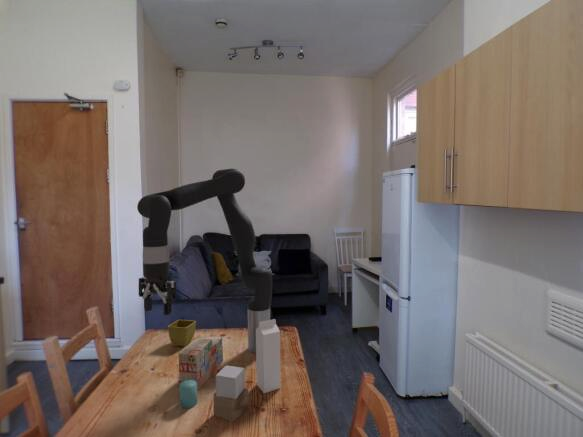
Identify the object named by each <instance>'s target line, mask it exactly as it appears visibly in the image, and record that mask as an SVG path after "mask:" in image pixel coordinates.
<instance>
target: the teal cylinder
mask: <svg viewBox="0 0 583 437" xmlns="http://www.w3.org/2000/svg"><path fill="white" fill-rule="evenodd" d="M178 387H179V407H180V408H181V409H185V410H186V409H191V408H194V407H195V406H197V404H198V390H197V382H196V381H194V380H187V381H184V382H182V383H181V384H180V383H179V386H178Z"/></svg>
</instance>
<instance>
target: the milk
mask: <svg viewBox="0 0 583 437" xmlns="http://www.w3.org/2000/svg"><path fill="white" fill-rule="evenodd" d="M276 320H277V319H275V318H273V319H270V320H268V321H263V322H260V323H259V327H258V328H257V329H256V354H255V357H256V358H255V359H256V360H255V362H256V363H255V364H256V365H255V366H256V368H255V369H256V371H255V374H256V375H255V376H256V386H257V387H258V388H259V389H260V390H261V391H262V393H263V394H266V393H269V392H273V391H276V390H278V389H281V388H282V386H281V385H282V384H281V331H280V329H279V326H278V325H277V321H276Z"/></svg>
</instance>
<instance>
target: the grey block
mask: <svg viewBox="0 0 583 437" xmlns="http://www.w3.org/2000/svg"><path fill="white" fill-rule="evenodd" d="M245 373H246V372H245V367H241V366H240V367H239V366H234V365H233V366H231V365H225V366H224V367H223V368H222V369H221V370H219V371H218V373H217V374H216V375H215V384H216V385H215V387H216V388H215V391H216V392H215V393H216V396H220V397H226V398H231V399H236V398H237V397H238V396H239V395H240V393H241V392H242V391H243V390H244V388H245V389H246V387H245V386H246V381H245V380H246V379H245V378H246V376H245V375H246V374H245Z"/></svg>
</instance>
